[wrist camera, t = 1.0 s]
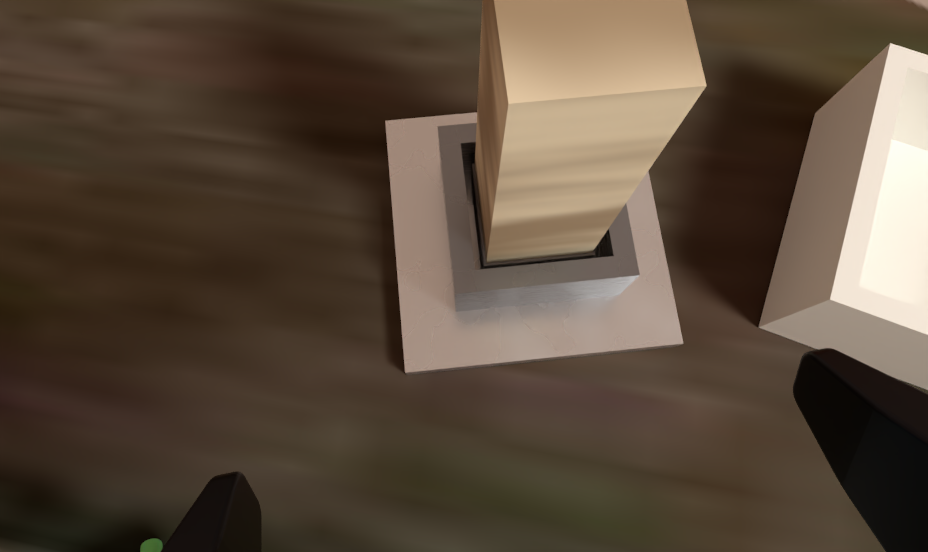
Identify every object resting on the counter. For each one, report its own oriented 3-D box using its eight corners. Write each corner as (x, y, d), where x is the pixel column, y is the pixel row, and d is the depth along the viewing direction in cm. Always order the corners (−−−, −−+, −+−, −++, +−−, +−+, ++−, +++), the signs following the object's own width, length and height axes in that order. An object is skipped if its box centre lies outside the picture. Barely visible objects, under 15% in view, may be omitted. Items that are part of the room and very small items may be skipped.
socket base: (676, 346, 25) (714, 329, 21) (406, 374, 24) (397, 362, 21) (628, 107, 27) (654, 56, 24) (387, 129, 27) (375, 80, 23)
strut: (584, 269, 25) (713, 89, 12) (482, 280, 24) (503, 108, 12) (569, 175, 26) (671, -80, 13) (471, 184, 26) (480, -64, 13)
